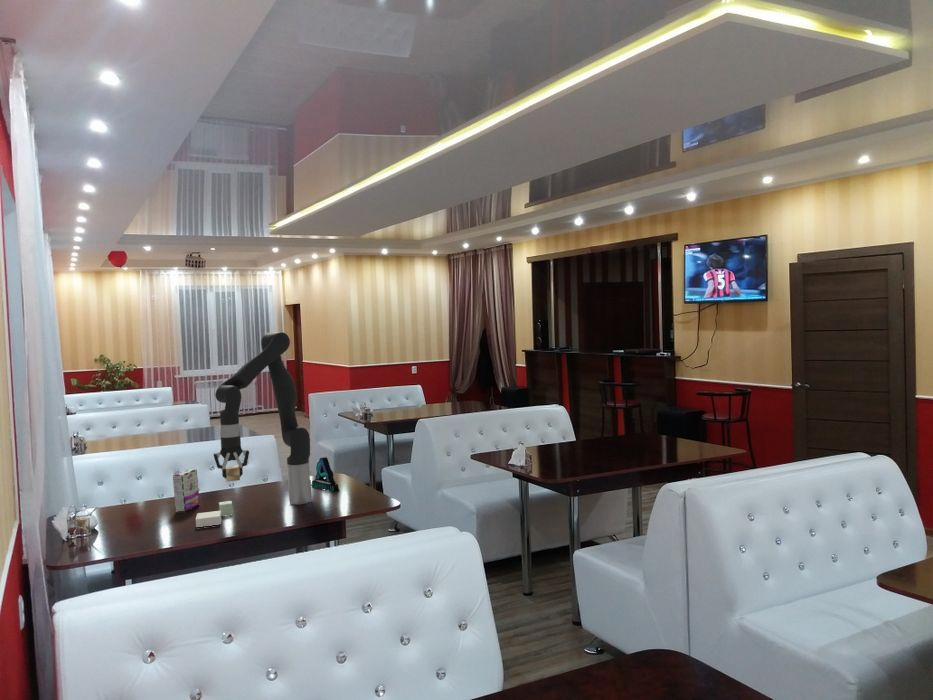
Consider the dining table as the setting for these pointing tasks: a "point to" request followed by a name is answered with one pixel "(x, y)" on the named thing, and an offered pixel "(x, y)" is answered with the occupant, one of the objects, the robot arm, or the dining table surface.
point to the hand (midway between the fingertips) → (232, 477)
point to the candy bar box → (186, 490)
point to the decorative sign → (325, 476)
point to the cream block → (208, 518)
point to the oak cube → (232, 473)
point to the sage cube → (225, 508)
